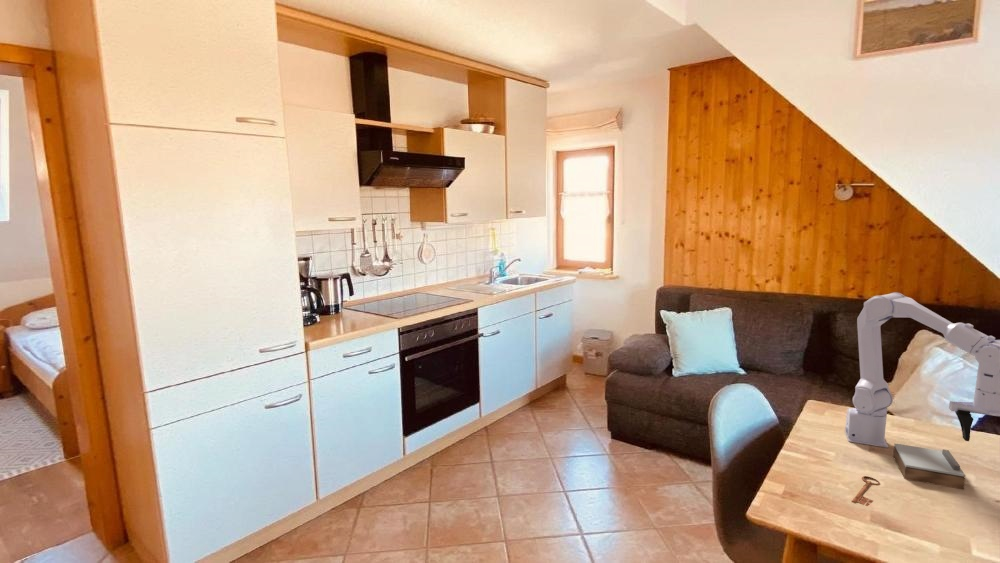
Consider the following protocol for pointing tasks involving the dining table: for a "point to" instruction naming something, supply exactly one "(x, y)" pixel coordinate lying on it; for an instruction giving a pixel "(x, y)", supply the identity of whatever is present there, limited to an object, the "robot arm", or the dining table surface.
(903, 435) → the dining table surface
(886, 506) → the dining table surface
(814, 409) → the dining table surface
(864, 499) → the key
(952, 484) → the box
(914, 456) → the lid
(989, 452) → the dining table surface
